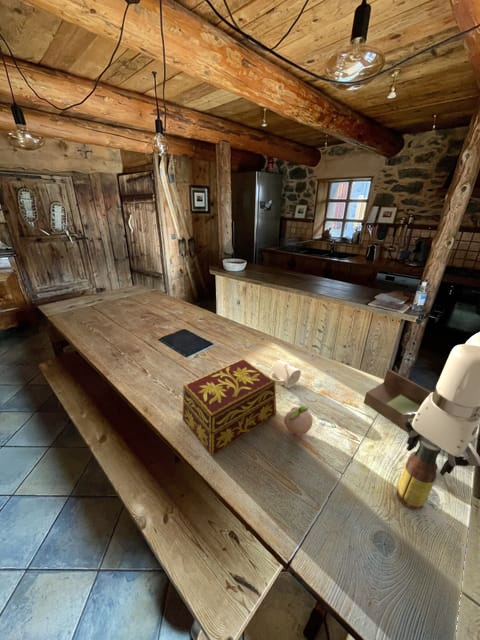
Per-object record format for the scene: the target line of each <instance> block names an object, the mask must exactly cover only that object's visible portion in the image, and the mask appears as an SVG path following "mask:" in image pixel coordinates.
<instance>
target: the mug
mask: <svg viewBox="0 0 480 640" xmlns="http://www.w3.org/2000/svg"><path fill="white" fill-rule="evenodd" d="M301 376H302V371H301V370H300V369H299V368H296V367H294V366H292V365H291V364H290V363H287V362H285V361H283V360H281V359H278V360H276V361H275V362H274V363H273V364H272V365H271V368H270V370H269V377H270V378H271V379H273V380H274V381H275V385H279V386H283V387H285V388H287V389H291V388H292V387H295V385H297V383H298V382H299V380H300V378H301Z"/></svg>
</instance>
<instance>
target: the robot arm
mask: <svg viewBox="0 0 480 640" xmlns="http://www.w3.org/2000/svg"><path fill="white" fill-rule="evenodd" d="M431 392H432V393H430V394H429V396H428V397H427V398H426V399H425V400H424V402H423V403H422V405H421V406H420V408H419V410H418V412H404V413H403V414H401V416H402V418H403V420H404V422H405V426H406V428H407V430H408V432H409V433H407V435H408V439H407V441H406V444H407V448H406V450H407V451H408V452H411V451H412V450H413V449H415V448H416V447H417V445H418V443H419V438H420V434H421V435H422V436H424V437H425V438H427V439H428V440H429V441H431V442H432V443H434V444H435V445H437V446H438V447H440V448H441V450H443V451H445V452H446V453H447V460H446V461H445V462H444V463H443V465H442V467H441V469H440V470H439V475H440V476H442V477H444V475H446V473H447V474H448V475H450V474H451V473H452V472H453V471H454V469H455V467H457V466H458V467H468V466H470V467H480V456H479V454H478V453H477V450H476V449H475V447H474V445H473V444H472V443H473V440H474V439H475V437H476V435H477V432H478V429H479V425H480V331H479V332H477V333H475V334H474V335H472V336H471V337H469V339H467V340H466V342H465V343H462V344H457V345H455V346H454V347H453V348H452V349H451V351H450V353H449V355H448V358H447V360H446V362H445V364H444V367H443V369H442V372H441V373H440V376H439V378H438V381H437V383H436V386H435V388H434V390H433V391H431ZM411 419H413V421H411ZM465 453H466V455H467V456H462V455H463V454H465Z"/></svg>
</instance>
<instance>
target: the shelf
mask: <svg viewBox="0 0 480 640" xmlns="http://www.w3.org/2000/svg"><path fill="white" fill-rule="evenodd" d="M432 392H433V391H431V390H429V389H427V388H425V387H423V386H421V385H420V384H418V383H416V382H414V381H413V380H411V379H409V378H407V377H405V376H403V375H402V374H399V373H398V372H395V371H394V370H392V369H390V368H389V369H387V370H386V373H385V376H384V379H383V382H382V383H380V384H378V385H376V386H375V387H372V388H371V389H370V390H368V391H366V392H365V396H364V399H363V403H364V404H365V405H367V406H368V407H370V408H371V409H372V410H374V411H375V412H377V413H378V414H380V415H381V416H383V418H386V420H388V421H390V422H391V423H393V424H394V425H396V426H397V427H399V428H400V429H401V430H403V431H404V432H405V433H407V434H408V433H409V432H408V430H407V428H406V426H405V422H404V420H403V418H402V416H401V414H403V413H404V412H418V410H419V408H420V406H421V405H422V403H423V402H424V400H425V399H426V398H427V397H428V396H429V394H430V393H432ZM411 421H413V419H411ZM422 437H424V436H422V435H421V434H420V438H419V440H418V442H420V440H421V438H422Z"/></svg>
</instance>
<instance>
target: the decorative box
mask: <svg viewBox="0 0 480 640" xmlns="http://www.w3.org/2000/svg"><path fill="white" fill-rule="evenodd" d="M276 394H277V393H276V384H275V381H274V380H273V379H271V378H270V376H269V375H267V374H266V373H264V372H263V371H261V370H260V369H259V368H257V367H256V366H255V365H253V364H251V363H250V362H249V361H247V360H246V359H245V358H241V359H239V360H237V361H235V362H233V363H230V364H228V365H225V366H223V367H220V368H218V369H217V370H214V371H211V372H209V373H207V374H205V375H203V376H200V377H198V378H196V379H193V380H191V381H189V382H187V383H185V384H183V387H182V413H181V414H182V415H181V417H182V418H181V419H182V420H183V422H184V423H185V424H186V426H187V427H188V428H189V429H190V431H191V432H192V433H193V435H194V436H195V437H196V439H197V440H198V441H199V443H200V444H201V445H202V446H203V449H205V450H206V452H207V453H208V454H209V456H210V457H213V456H214V455H215V456H216V454H218V453H220V452H221V451H223V450H224V449H226V448H227V447H229V446H231V444H232V445H233V443H235V442H236V441H238V440H239V439H241V438H242V437H245V435H247V434H249V433H250V432H252V431H253V430H255V429H256V428H258V427H259V426H261V425H262V424H264V423H265V422H267V421H268V420H270V419H271V418H273V417H275V416H276V415H277V397H276Z"/></svg>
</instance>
